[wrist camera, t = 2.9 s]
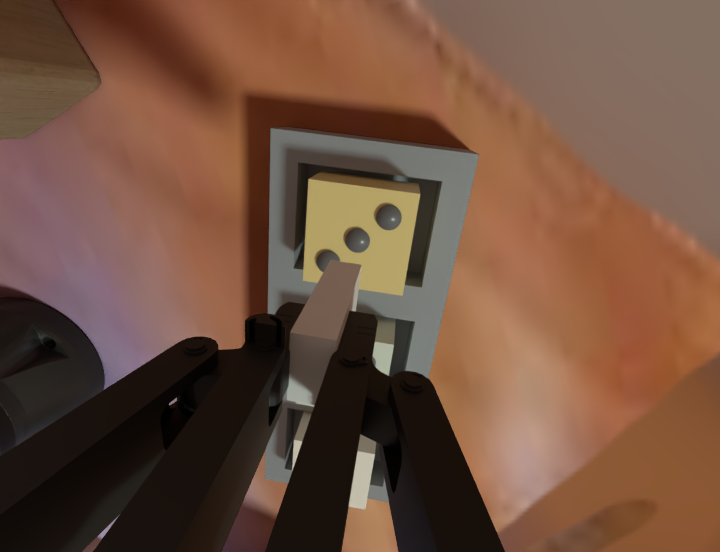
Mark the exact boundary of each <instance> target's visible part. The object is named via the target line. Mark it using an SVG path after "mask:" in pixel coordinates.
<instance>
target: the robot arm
mask: <svg viewBox="0 0 720 552" xmlns="http://www.w3.org/2000/svg"><path fill="white" fill-rule="evenodd" d="M361 266H362V265H360V264H354V263H347V262H341V261H334V260H330V262H329V263H328V265H327V267H326V269H325V271H324V272H323V274H322V276H321V278H320V280H319V281H318V283H317V285H316V287H315V288H314V290H313V292H312V294H311V296H310V297H309V299H308V301H307V303H306V304H301V303H295V302H287V303H285V304H283V305H282V306H280V307H279V308H278V310H277V311H276V313H275V314H265V313H264V314H256V315H254V316H251V317H249V318H248V319H246V320H245V343H244V345H243V346H242V347H241V348H239V349H229V350H218V344H217V342H216V341H215V340H213V339H211V338H207V337H192V338H187V339H185V340H182V341H180V342H178V343H177V344H175V345H174V346H172V347H171V348H169V349H167V350H166V351H164V352H163V353H161V354H160V355H158V356H156V357H155V358H153V359H152V360H150V361H149V362H147V363H145V364H144V365H142V366H141V367H139V368H138V369H136V370H135V371H133V372H131V373H130V374H128V375H127V376H125V377H124V378H122V379H120V380H119V381H117V382H116V383H114V384H113V385H111V386H109V387H108V388H106V389H105V390H103V389H104V380H105V379H104V370H103V366H102V363H101V360H100V358H99V356H98V354H97V352H96V350H95V348H94V347H93V345H92V344H91V342H90V341H89V340H88V338H87V337H86V336H85V335H84V334H83V333H82V331H81V330H80V329H78V328H77V327H76V326H75V325H74V324H73V323H72V322H71V321H69V320H68V319H67V318H65V317H64V316H63V315H61V314H60V313H58V312H56V311H55V310H53V309H51V308H49V307H47V306H45V305H42V304H40V303H37V302H34V301H31V300H27V299H22V298H0V552H82V551H83V550H84V549H85V548H86V547H87V546H88V545H89V544H90V543H91V542H92V541H93V540H94V539H95V538H96V537H97V536H98V535H99V534H100V533H101V532H102V531H103V530H104V529H105V528H106V527H107V526H108V525H109V524H110V523H111V522H112V521H113V520H114V519H115V518H117V517H118V516H119V517H118V518H117V519H116V521H115V522H114V524H113V525H112V526H111V528H110V529H109V530H108V532H107V533H106V535H105V536H104V537H103V539H102V540H101V541H100V543H99V544H98V546H97V547H96V549H95V550H94V551H93V552H221V551H222V549H223V546H224V544H225V542H226V539H227V537H228V535H229V532H230V530H231V528H232V525H233V523H234V521H235V519H236V516H237V514H238V512H239V509H240V507H241V505H242V502H243V500H244V498H245V495H246V493H247V491H248V488H249V486H250V484H251V481H252V479H253V477H254V475H255V472H256V470H257V468H258V465H259V463H260V461H261V458H262V456H263V454H264V451H265V449H266V447H267V444H268V442H269V440H270V438H271V435H272V433H273V431H274V428H275V426H276V424H277V421H278V419H279V417H280V414H281V412H282V407H283V397H284V395H285V393H286V390H287V400H288V401H294V402H300V403H305V404H311V405H314V408H313V411H312V414H311V417H310V420H309V423H308V426H307V429H306V432H305V435H304V438H303V441H302V444H301V447H300V450H299V453H298V456H297V459H296V462H295V465H294V468H293V471H292V474H291V477H290V480H289V483H288V486H287V489H286V492H285V495H284V498H283V500H282V503H281V506H280V509H279V512H278V515H277V518H276V521H275V524H274V527H273V530H272V533H271V536H270V539H269V542H268V545H267V548H266V551H265V552H341V551H342V545H343V538H344V532H345V526H346V520H347V514H348V507H349V501H350V495H351V489H352V483H353V476H354V470H355V464H356V458H357V452H358V445H359V440H360V434H361V435H363V436H365V437H367V438H369V439H371V440H373V441H375V442H377V443H379V452H380V458H381V463H382V468H383V473H384V479H385V484H386V489H387V494H388V499H389V505H390V510H391V515H392V520H393V525H394V531H395V536H396V541H397V546H398V551H399V552H505V551H504V548H503V546H502V544H501V541H500V539H499V537H498V534H497V532H496V530H495V527H494V525H493V523H492V520H491V518H490V516H489V513H488V511H487V509H486V506H485V504H484V502H483V499H482V497H481V495H480V492H479V490H478V488H477V486H476V483H475V481H474V479H473V476H472V474H471V472H470V469H469V467H468V465H467V462H466V460H465V458H464V455H463V453H462V451H461V448H460V446H459V444H458V441H457V439H456V437H455V434H454V432H453V430H452V427H451V425H450V423H449V420H448V418H447V416H446V413H445V411H444V409H443V406H442V404H441V402H440V400H439V397H438V395H437V393H436V390H435V388H434V386H433V384H432V383H431V381H430V380H429V379H428V378H427V377H425V376H424V375H422V374H419V373H417V372H412V371H401V372H398V373H396V374H394V375H393V377H390V376H388V375H386V374H384V373H382V372H381V371H379V370H378V369H377V368H376V367H375V366H374V364H373V361H372V357H373V350H374V344H375V338H376V331H377V325H378V321H377V319H376V317H375V316H374V314H368V313H362V312H356V306H357V298H358V290H359V282H360V274H361ZM176 397H177V401H176V402H175V403H173V404H172V405H170V406H169V403H170V402H171V401H173V400H174V399H175V398H176Z"/></svg>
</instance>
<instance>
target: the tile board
mask: <svg viewBox="0 0 720 552" xmlns="http://www.w3.org/2000/svg"><path fill="white" fill-rule="evenodd" d="M478 157H479V154H477V153H475V152H473V151H472V150H469V149H461V148H453V147H445V146H437V145H429V144H421V143H413V142H405V141H397V140H389V139H381V138H373V137H365V136H357V135H349V134H341V133H333V132H325V131H317V130H309V129H301V128H293V127H279V128H271V135H270V198H269V261H268V314H275V313H276V311H277V310H278V308H279V307H280V306H282V305H283V304H285V303H287V302H295V303H301V304H306V303H307V301H308V299H309V297H310V296H311V294H312V292H313V290H314V288H315V287H316V285H317V283H314V282H308V281H303V268H304V251H305V233H306V215H307V197H308V179H309V178H311V177H313V176H314V175H316V174H317V173H319V172H321V171H328V172H335V173H343V174H350V175H358V176H365V177H373V178H381V179H388V180H396V181H403V182H411V183H418V184H419V188H420V199H419V205H418V211H417V216H416V222H415V228H414V234H413V239H412V245H411V251H410V257H409V262H408V268H407V274H406V279H405V285H404V291H403V296H400V295H394V294H387V293H380V292H374V291H367V290H361V289H359V290H358V298H357V306H356V312H362V313H368V314H374V315H375V316H382V317H388V318H395V319H396V321H395V338H394V348H393V354H392V360H391V365H390V371H389V376H390V377H393V375H394V374H396V373H398V372H401V371H412V372H417V373H419V374H422V375H424V376H425V377H427V378H429V373H430V369H431V364H432V360H433V356H434V351H435V347H436V342H437V338H438V334H439V329H440V325H441V320H442V316H443V312H444V307H445V303H446V298H447V294H448V290H449V285H450V281H451V276H452V272H453V267H454V263H455V259H456V254H457V250H458V245H459V241H460V237H461V232H462V228H463V223H464V219H465V215H466V210H467V206H468V201H469V197H470V193H471V188H472V184H473V179H474V175H475V171H476V166H477V162H478ZM313 408H314V406H308V405H302V404H296V402H294V401H288V400H287V390H286V393H285V395H284V397H283V407H282V412H281V414H280V417H279V419H278V421H277V424H276V426H275V428H274V431H273V433H272V435H271V438H270V440H269V442H268V444H267V447H266V451H265V479H267V480H272V481H278V482H283V483H289V480H290V477H291V474H292V465H293V447H294V438H295V435H296V432H297V430H298V427H299V424H300V421H301V418H302V416H303V413H304V411H310V412H312V411H313ZM367 498H369V499H374V500H379V501H385V502H389V499H388V494H387V489H386V484H385V479H384V473H383V468H382V463H381V458H380V452H379V443H377V442H376V449H375V457H374V463H373V468H372V474H371V480H370V486H369V491H368V497H367Z"/></svg>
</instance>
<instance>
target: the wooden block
mask: <svg viewBox="0 0 720 552" xmlns="http://www.w3.org/2000/svg"><path fill="white" fill-rule="evenodd" d="M100 84H101V79H100V76H99V73H98V72H97V70H96V68H95V67H94V65H93V64H92V62H91V60H90V59H89V57H88V56H87V54H86V53H85V51H84V49H83V48H82V46H81V45H80V43H79V41H78V40H77V38H76V37H75V35H74V33H73V32H72V30H71V29H70V27H69V25H68V24H67V22H66V21H65V19H64V17H63V16H62V14H61V13H60V11H59V10H58V8H57V6H56V5H55V3H54V2H53V0H0V140H2V139H20V138H26V137H27V136H29V135H30V134H32V133H33V132H35V131H36V130H37V129H39V128H40V127H42V126H43V125H45V124H46V123H48V122H49V121H51V120H52V119H54V118H55V117H57V116H58V115H60V114H61V113H62V112H64V111H65V110H67V109H68V108H70V107H71V106H73V105H74V104H76V103H77V102H79V101H80V100H82V99H83V98H85V97H86V96H88V95H89V94H90V93H92V92H93V91H95V90H96V89H98V88H99V86H100Z"/></svg>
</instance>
